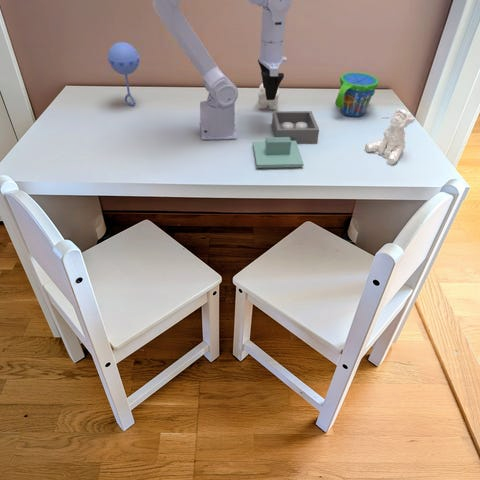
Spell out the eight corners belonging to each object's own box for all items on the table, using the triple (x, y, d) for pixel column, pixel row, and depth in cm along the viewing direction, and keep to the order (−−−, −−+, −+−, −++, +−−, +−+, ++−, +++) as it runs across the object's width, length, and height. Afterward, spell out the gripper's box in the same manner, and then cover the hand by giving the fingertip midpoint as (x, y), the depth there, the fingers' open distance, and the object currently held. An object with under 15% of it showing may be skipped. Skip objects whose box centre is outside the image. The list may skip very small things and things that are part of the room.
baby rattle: (152, 103, 125) (143, 41, 112) (132, 114, 119) (121, 50, 107) (131, 97, 128) (120, 36, 116) (111, 107, 123) (98, 44, 110)
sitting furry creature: (362, 150, 106) (373, 106, 98) (383, 141, 110) (396, 98, 102) (391, 166, 101) (405, 121, 93) (412, 156, 105) (428, 112, 96)
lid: (256, 169, 99) (257, 152, 95) (252, 146, 107) (253, 129, 104) (302, 168, 99) (305, 151, 96) (295, 145, 108) (297, 128, 104)
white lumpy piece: (258, 82, 116) (260, 71, 126) (256, 112, 121) (259, 99, 131) (280, 84, 116) (281, 72, 125) (277, 113, 121) (278, 100, 130)
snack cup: (357, 100, 129) (365, 67, 122) (383, 112, 123) (392, 79, 116) (321, 111, 123) (326, 77, 116) (345, 125, 116) (353, 90, 110)
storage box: (276, 144, 108) (277, 130, 105) (271, 124, 116) (272, 111, 113) (317, 143, 108) (319, 129, 106) (309, 124, 117) (311, 111, 114)
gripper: (292, 49, 95) (287, 104, 104) (284, 30, 105) (280, 82, 115) (263, 49, 94) (260, 105, 104) (257, 30, 105) (255, 82, 114)
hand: (268, 93), depth 109 cm, fingers open, 7 cm apart
